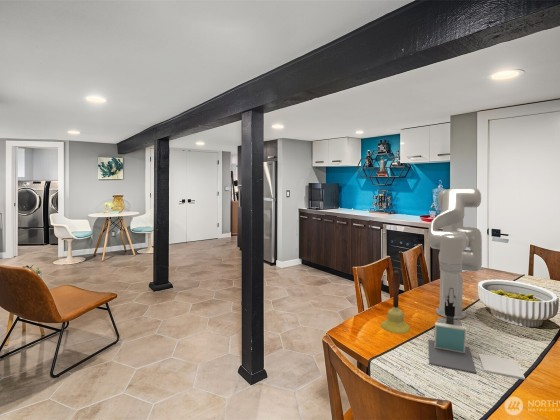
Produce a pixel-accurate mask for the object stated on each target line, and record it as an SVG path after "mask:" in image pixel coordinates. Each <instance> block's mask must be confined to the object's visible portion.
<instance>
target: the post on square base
mask: <svg viewBox="0 0 560 420" xmlns="http://www.w3.org/2000/svg"><path fill="white" fill-rule="evenodd" d="M461 320H462V319H454V317H452V316H446V317H437V323H444V324H450V325H457V326H463V324H462V321H461Z"/></svg>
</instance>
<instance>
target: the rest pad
mask: <svg viewBox="0 0 560 420" xmlns="http://www.w3.org/2000/svg"><path fill="white" fill-rule="evenodd" d="M478 357H479V361H480V363H481V367H482V370H483V372H485V373H489V374H495V375H500V376H503V377H510V378H514V379H519V380H524V381H525V380H526V377H525V375H524V373H523V371H522V369H521V367H520V366H519V363H518V362H517V360H516V359H510V358H504V357H499V356H496V355H495V356H493V355H488V354H484V353H483V354H482V353H478Z"/></svg>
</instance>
